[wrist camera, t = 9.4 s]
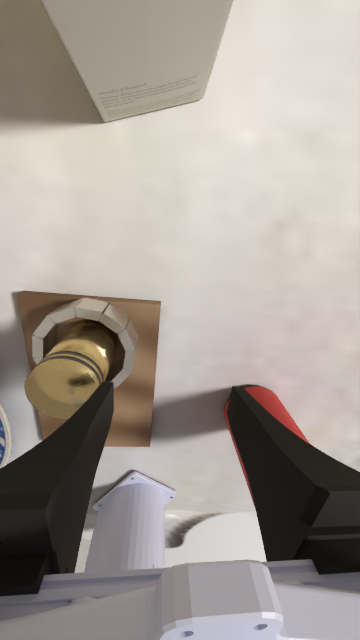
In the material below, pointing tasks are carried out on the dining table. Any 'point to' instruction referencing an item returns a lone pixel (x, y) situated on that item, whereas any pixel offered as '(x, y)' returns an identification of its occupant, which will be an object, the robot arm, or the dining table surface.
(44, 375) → the piston
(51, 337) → the ring collar
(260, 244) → the dining table surface
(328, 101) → the dining table surface
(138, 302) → the walnut board
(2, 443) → the ceramic plate
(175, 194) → the dining table surface
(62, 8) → the supplement box
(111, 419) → the robot arm
